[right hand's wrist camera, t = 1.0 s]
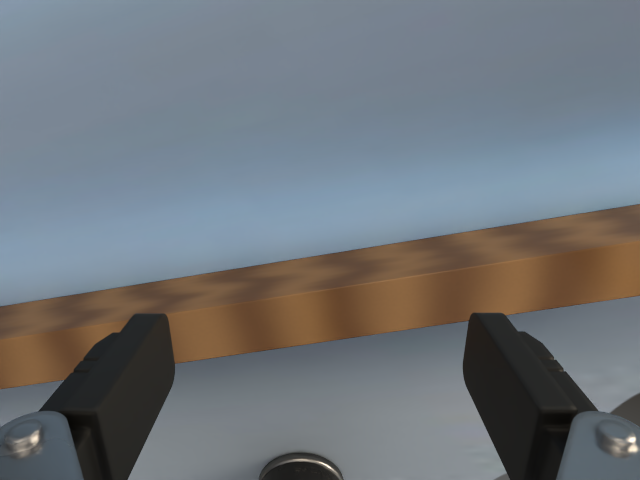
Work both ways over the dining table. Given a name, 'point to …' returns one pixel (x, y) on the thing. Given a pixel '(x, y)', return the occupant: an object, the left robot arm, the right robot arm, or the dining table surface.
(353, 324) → the post
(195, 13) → the dining table surface
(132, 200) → the dining table surface
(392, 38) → the dining table surface
